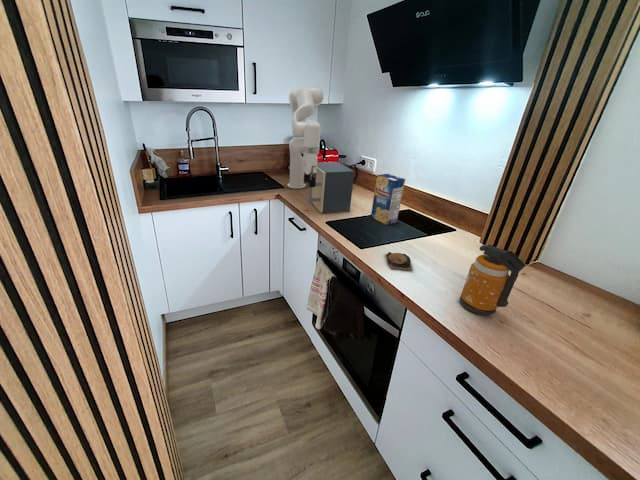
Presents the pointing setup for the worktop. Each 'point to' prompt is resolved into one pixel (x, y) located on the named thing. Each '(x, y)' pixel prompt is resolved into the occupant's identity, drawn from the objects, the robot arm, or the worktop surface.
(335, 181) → the cupboard
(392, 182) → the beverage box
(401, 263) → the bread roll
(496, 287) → the canister
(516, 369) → the worktop surface
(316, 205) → the cupboard door
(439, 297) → the worktop surface
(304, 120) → the robot arm
